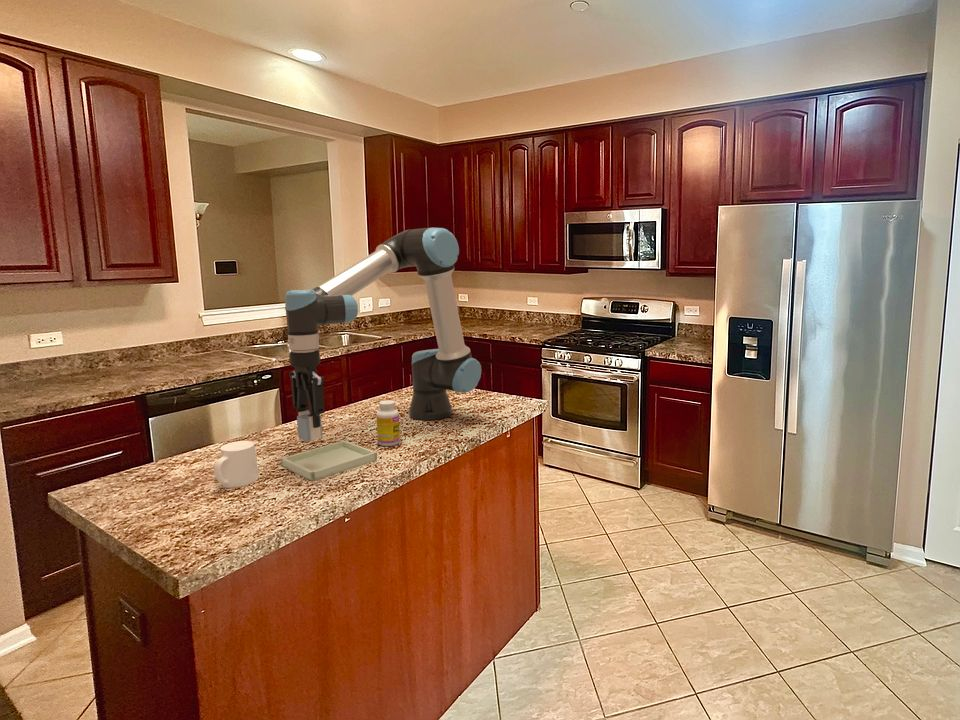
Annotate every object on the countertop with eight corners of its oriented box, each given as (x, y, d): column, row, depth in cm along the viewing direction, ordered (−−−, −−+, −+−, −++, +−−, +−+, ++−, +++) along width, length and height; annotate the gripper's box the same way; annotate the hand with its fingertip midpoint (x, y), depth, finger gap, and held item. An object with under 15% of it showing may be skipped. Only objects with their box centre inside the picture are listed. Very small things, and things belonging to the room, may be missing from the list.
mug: (240, 438, 151) (263, 441, 148) (243, 472, 153) (266, 476, 149) (202, 453, 140) (226, 457, 137) (206, 489, 142) (230, 494, 139)
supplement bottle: (395, 447, 169) (393, 405, 167) (374, 446, 171) (372, 404, 168) (403, 440, 176) (401, 399, 173) (382, 439, 177) (380, 398, 175)
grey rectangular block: (298, 438, 152) (296, 416, 151) (313, 434, 156) (312, 412, 154) (307, 441, 149) (305, 419, 148) (322, 437, 152) (321, 415, 151)
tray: (344, 447, 170) (344, 440, 170) (377, 459, 159) (376, 452, 159) (281, 466, 156) (280, 458, 156) (312, 481, 145) (311, 473, 145)
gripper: (274, 348, 152) (281, 433, 156) (308, 355, 140) (315, 447, 144) (300, 345, 157) (306, 427, 161) (335, 351, 145) (341, 440, 149)
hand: (310, 436), depth 152 cm, fingers closed on grey rectangular block, 4 cm apart
